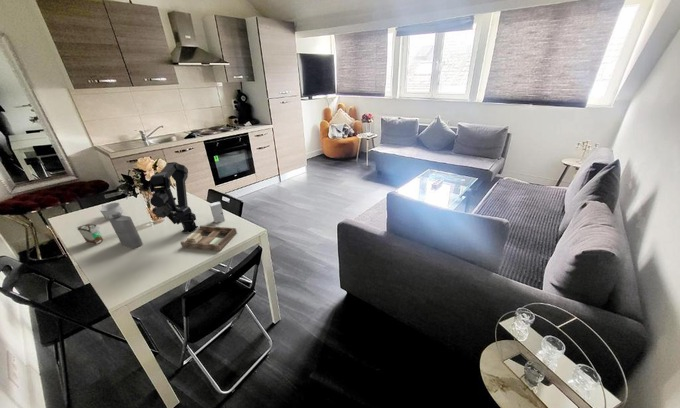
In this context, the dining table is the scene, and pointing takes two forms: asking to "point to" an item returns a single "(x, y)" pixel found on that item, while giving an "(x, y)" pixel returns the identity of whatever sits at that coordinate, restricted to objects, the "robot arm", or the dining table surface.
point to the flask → (125, 230)
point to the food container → (90, 233)
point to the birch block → (194, 237)
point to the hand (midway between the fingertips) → (176, 223)
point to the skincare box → (217, 212)
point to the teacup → (110, 209)
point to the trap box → (211, 238)
